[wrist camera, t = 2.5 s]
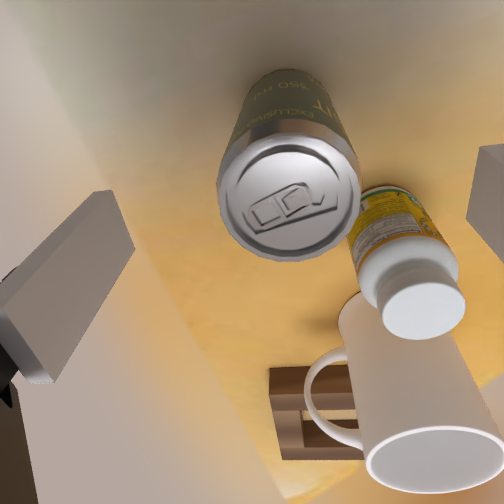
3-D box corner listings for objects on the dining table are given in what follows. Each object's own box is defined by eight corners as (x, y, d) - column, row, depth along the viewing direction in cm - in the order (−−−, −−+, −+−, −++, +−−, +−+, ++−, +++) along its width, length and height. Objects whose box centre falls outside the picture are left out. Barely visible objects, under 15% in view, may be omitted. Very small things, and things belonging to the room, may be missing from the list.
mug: (301, 353, 35) (308, 492, 25) (299, 283, 30) (307, 422, 20) (431, 352, 34) (492, 498, 24) (450, 279, 29) (536, 425, 19)
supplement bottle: (337, 194, 25) (361, 282, 17) (418, 174, 24) (484, 259, 16) (349, 256, 28) (374, 355, 20) (422, 241, 27) (480, 341, 19)
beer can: (269, 171, 25) (259, 285, 15) (226, 98, 22) (181, 176, 12) (344, 132, 23) (390, 232, 13) (307, 47, 20) (329, 92, 11)
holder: (269, 368, 36) (268, 394, 34) (395, 363, 35) (403, 391, 32) (282, 433, 43) (282, 460, 41) (388, 432, 41) (394, 459, 39)
